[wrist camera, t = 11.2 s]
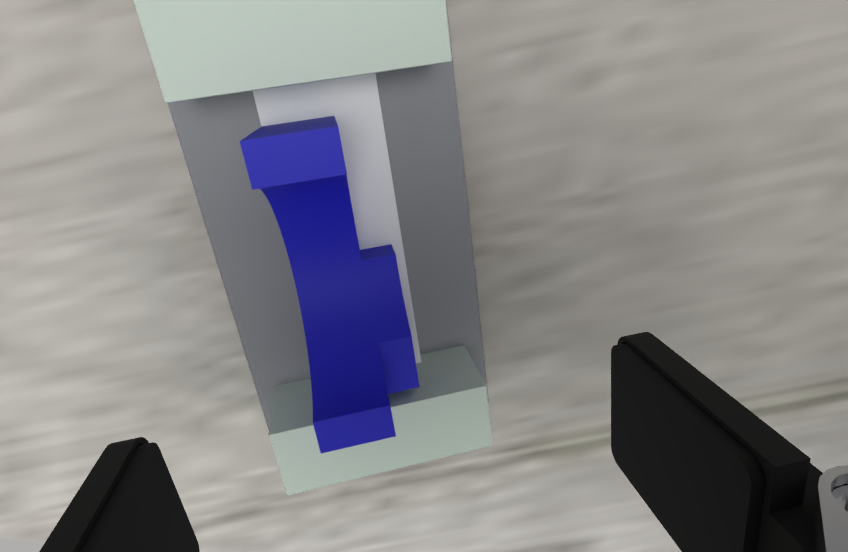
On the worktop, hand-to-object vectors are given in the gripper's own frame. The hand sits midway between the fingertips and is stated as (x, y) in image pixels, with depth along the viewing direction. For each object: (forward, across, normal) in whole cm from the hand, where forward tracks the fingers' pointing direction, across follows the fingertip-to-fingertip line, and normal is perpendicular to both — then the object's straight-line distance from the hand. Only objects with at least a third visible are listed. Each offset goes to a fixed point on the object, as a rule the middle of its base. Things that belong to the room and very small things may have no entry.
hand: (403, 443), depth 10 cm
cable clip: (+14, +1, 0) cm, 14 cm away
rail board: (+16, +1, 0) cm, 16 cm away
